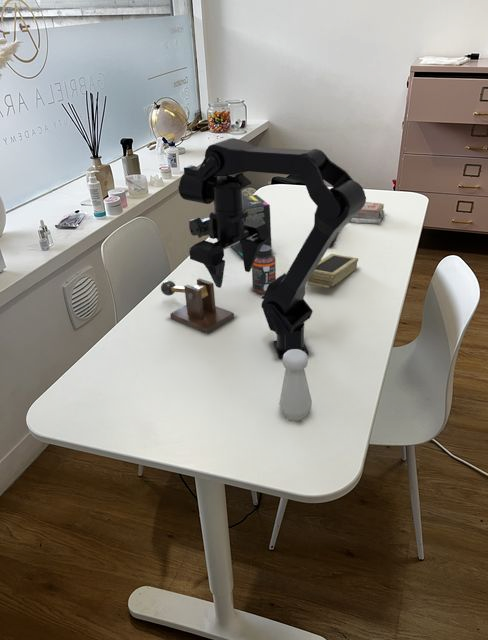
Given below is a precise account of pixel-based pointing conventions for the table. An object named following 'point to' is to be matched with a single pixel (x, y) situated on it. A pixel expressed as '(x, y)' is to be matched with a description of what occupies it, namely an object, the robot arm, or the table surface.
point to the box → (332, 270)
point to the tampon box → (255, 217)
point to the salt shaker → (295, 386)
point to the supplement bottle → (263, 269)
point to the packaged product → (369, 213)
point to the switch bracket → (201, 309)
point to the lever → (180, 289)
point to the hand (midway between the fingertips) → (233, 279)
